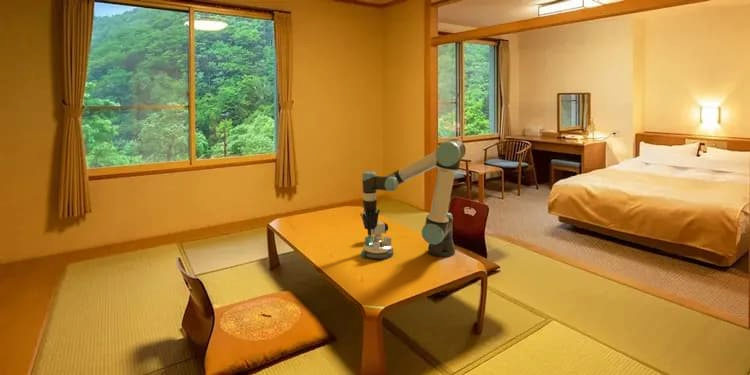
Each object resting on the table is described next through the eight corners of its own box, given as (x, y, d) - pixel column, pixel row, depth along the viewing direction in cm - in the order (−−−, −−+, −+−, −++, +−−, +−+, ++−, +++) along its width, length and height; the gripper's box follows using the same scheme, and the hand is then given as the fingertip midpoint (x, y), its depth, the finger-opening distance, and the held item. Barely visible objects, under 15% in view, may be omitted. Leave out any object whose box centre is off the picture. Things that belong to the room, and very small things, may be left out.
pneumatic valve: (388, 240, 258) (388, 221, 256) (370, 242, 255) (369, 223, 252) (385, 237, 263) (385, 219, 261) (367, 239, 260) (367, 221, 258)
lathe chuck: (397, 247, 236) (397, 237, 235) (381, 256, 223) (381, 245, 222) (374, 242, 245) (374, 232, 244) (357, 250, 233) (357, 240, 231)
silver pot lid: (399, 253, 236) (399, 246, 236) (379, 263, 222) (379, 256, 222) (375, 247, 247) (375, 240, 246) (354, 256, 233) (354, 249, 232)
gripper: (373, 196, 240) (374, 235, 245) (356, 200, 232) (358, 241, 237) (382, 198, 235) (383, 238, 240) (365, 203, 226) (367, 244, 231)
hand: (371, 239), depth 238 cm, fingers closed
